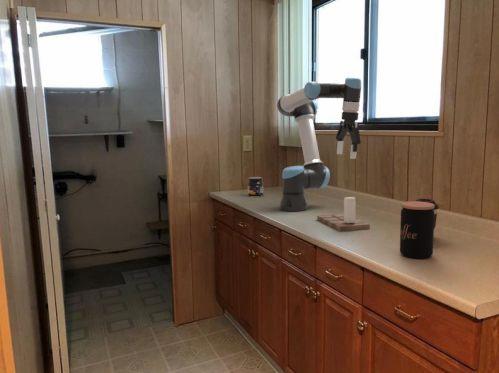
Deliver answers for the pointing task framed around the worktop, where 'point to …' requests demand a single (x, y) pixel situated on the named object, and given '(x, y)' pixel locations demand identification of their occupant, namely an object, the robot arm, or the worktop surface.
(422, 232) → the coffee jar
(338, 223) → the board
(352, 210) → the fader tab
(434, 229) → the coffee cup
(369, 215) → the worktop surface
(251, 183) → the supplement container
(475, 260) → the worktop surface
